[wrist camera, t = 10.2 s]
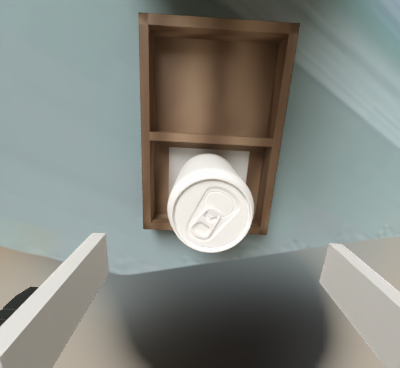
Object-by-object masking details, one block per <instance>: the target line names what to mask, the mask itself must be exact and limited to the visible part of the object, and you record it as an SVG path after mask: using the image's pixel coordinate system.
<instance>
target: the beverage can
mask: <svg viewBox="0 0 400 368" xmlns="http://www.w3.org/2000/svg"><path fill="white" fill-rule="evenodd" d="M167 213H168V219H169V222H170V225H171V227H172V229H173V230H174V232H175V234H176V235H177V237H178V238H179V239H180V240H181V241H182V242H183V243H184V244H185V245H187V246H188V247H190V248H192V249H194V250H197V251H200V252H206V253H216V252H221V251H225V250H228V249H230V248H232V247H234V246H235V245H237V244H238V243H239V242H240V241H241V240H242V239H243V238H244V237H245V236H246V234H247V233H248V231H249V229H250V226H251V223H252V219H253V215H254V201H253V197H252V194H251V192H250V190H249V188H248V186H247V185H246V184H245V182H244V181H243V180H242V178H241V177H240V176H239V175H238V173H237V172H236V171H235V170H234V168H233V167H232V166H231V164H230V163H229V162H228V161H227V160H226V159H224V158H223V157H221V156H219V155H216V154H211V153H203V154H199V155H196V156H194V157H192V158H190V159H189V160H188V161H187V162H186V163H185V164H184V165H183V166H182V168H181V170H180V172H179V174H178V177H177V179H176V181H175V184H174V186H173V189H172V191H171V193H170V196H169V199H168V204H167Z"/></svg>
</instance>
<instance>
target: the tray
mask: <svg viewBox="0 0 400 368" xmlns="http://www.w3.org/2000/svg"><path fill="white" fill-rule="evenodd" d="M299 27H300V23H288V22H273V21H258V20H243V19H228V18H213V17H198V16H183V15H168V14H153V13H139V57H140V101H141V145H142V189H143V229H155V230H173V229H172V227H171V225H170V222H169V219H168V213H167V204H168V199H169V196H170V193H171V191H172V189H173V186H174V184H175V181H176V179H177V177H178V174H179V172H180V170H181V168H182V166H183V165H184V164H185V163H186V162H187V161H188V160H189V159H190V158H192V157H194V156H196V155H199V154H203V153H211V154H216V155H219V156H221V157H223V158H224V159H226V160H227V161H228V162H229V163H230V164H231V166H232V167H233V168H234V170H235V171H236V172H237V173H238V175H239V176H240V177H241V178H242V180H243V181H244V182H245V184H246V185H247V186H248V188H249V190H250V192H251V194H252V197H253V201H254V215H253V219H252V223H251V226H250V229H249V231H248V233H247V234H262V235H266V234H267V228H268V222H269V215H270V209H271V203H272V197H273V190H274V184H275V178H276V171H277V165H278V159H279V153H280V146H281V140H282V134H283V127H284V121H285V115H286V109H287V102H288V96H289V90H290V83H291V77H292V71H293V65H294V58H295V52H296V46H297V39H298V33H299Z"/></svg>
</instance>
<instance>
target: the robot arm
mask: <svg viewBox="0 0 400 368" xmlns="http://www.w3.org/2000/svg"><path fill="white" fill-rule="evenodd" d="M108 274H109V268H108V256H107V243H106V233H92V234H91V235H90V236H89V237H88V238H87V239H86V240H85V241H84V242H83V243H82V244H81V245H80V246H79V247H78V248H77V249H76V250H75V251H74V252H73V253H72V254H71V255H70V256H69V257H68V258H67V259H66V260H65V261H64V262H63V263H62V264H61V265H60V267H58V268H57V269H56V270H55V271H54V272H53V273H52V274H51V275H50V277H49V278H48V279H47V280H46V281H45V282H44V283H43V284H42V285H41V286H40V287H30V288H28V289H26V290H25V291H23V292H22V293H20V294H18V295H17V296H15V297H14V298H13V299H12V300H11V301H10V302H9V303H8V304H7V305H6V306H5V307H4V308H3V310H0V368H52V367H53V366H54V364H55V362H56V361H57V359H58V357H59V356H60V354H61V352H62V351H63V349H64V347H65V346H66V344H67V342H68V341H69V339H70V337H71V336H72V334H73V332H74V331H75V329H76V327H77V326H78V324H79V322H80V321H81V319H82V317H83V316H84V314H85V312H86V311H87V309H88V307H89V306H90V304H91V302H92V301H93V299H94V297H95V296H96V294H97V293H98V291H99V289H100V287H101V286H102V284H103V283H104V281H105V279H106V277H107V276H108ZM319 282H320V284H321V285H322V286H323V287H324V289H325V290H326V292H327V293H328V294H329V295H330V297H331V298H332V299H333V301H334V302H335V303H336V304H337V306H338V307H339V308H340V310H341V311H342V312H343V313H344V315H345V316H346V317H347V318H348V320H349V321H350V323H351V324H352V325H353V327H354V328H355V329H356V330H357V332H358V333H359V334H360V336H361V337H362V338H363V339H364V341H365V342H366V343H367V345H368V346H369V347H370V349H371V350H372V351H373V352H374V354H375V355H376V356H377V358H378V359H379V360H380V362H381V363H382V364H383V365H384V367H385V368H400V292H399V291H398V290H397V289H396V288H394V287H393V286H392V285H390V284H389V283H388V282H387V281H386V280H385V279H383V278H382V277H381V276H380V275H379V274H377V273H376V272H375V271H374V270H372V269H371V268H370V267H369V266H368V265H366V264H365V263H364V262H363V261H362V260H360V259H359V258H358V257H357V256H356V255H354V254H353V253H352V252H351V251H350V250H348V249H347V248H346V247H345V246H344V245H342V244H329V246H328V250H327V254H326V258H325V262H324V266H323V270H322V273H321V277H320V281H319Z"/></svg>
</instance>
